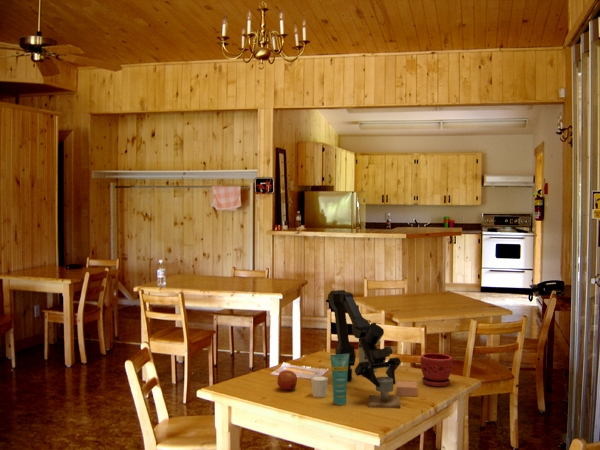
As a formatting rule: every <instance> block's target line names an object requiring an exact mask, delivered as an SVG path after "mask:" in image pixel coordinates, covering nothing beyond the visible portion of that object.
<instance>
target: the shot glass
mask: <svg viewBox="0 0 600 450" xmlns="http://www.w3.org/2000/svg"><path fill="white" fill-rule="evenodd" d="M310 380H311V393H312V396H313V397H315V398H319V397H321V398H325V397H327V393H328V392H327V391H328V381H329V378H328V376H327V377H326V376H322V375H316V376H312V377H311V378H310Z"/></svg>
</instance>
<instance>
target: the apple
mask: <svg viewBox="0 0 600 450" xmlns="http://www.w3.org/2000/svg"><path fill="white" fill-rule="evenodd" d="M297 383H298V377H297V374H296V373H295V372H294V371H292V370H285V369H284V370H281V371H280V372H279V373H278V375H277V385H278V387H279V388H280V389H282V390H284V391H291V390H294V389H295V388H296V387H297Z"/></svg>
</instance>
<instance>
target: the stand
mask: <svg viewBox="0 0 600 450" xmlns="http://www.w3.org/2000/svg"><path fill="white" fill-rule="evenodd" d="M396 396H400V397H418V384H417V381H399V380H398V381H397V380H396Z"/></svg>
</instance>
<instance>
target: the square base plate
mask: <svg viewBox="0 0 600 450" xmlns="http://www.w3.org/2000/svg"><path fill="white" fill-rule="evenodd" d="M379 393H380V394H369V395H368V408H383V409H387V408H389V409H392V408H393V409H401V396H397V395H395V394H394V395H390V394H389V392H379Z"/></svg>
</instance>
